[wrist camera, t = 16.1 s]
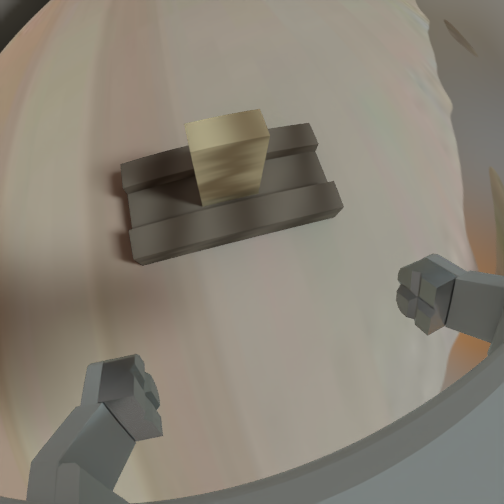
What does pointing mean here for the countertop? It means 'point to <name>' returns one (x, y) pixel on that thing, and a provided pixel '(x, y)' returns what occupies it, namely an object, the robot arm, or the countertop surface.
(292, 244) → the countertop surface
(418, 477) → the robot arm
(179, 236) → the bridge
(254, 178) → the wooden block
